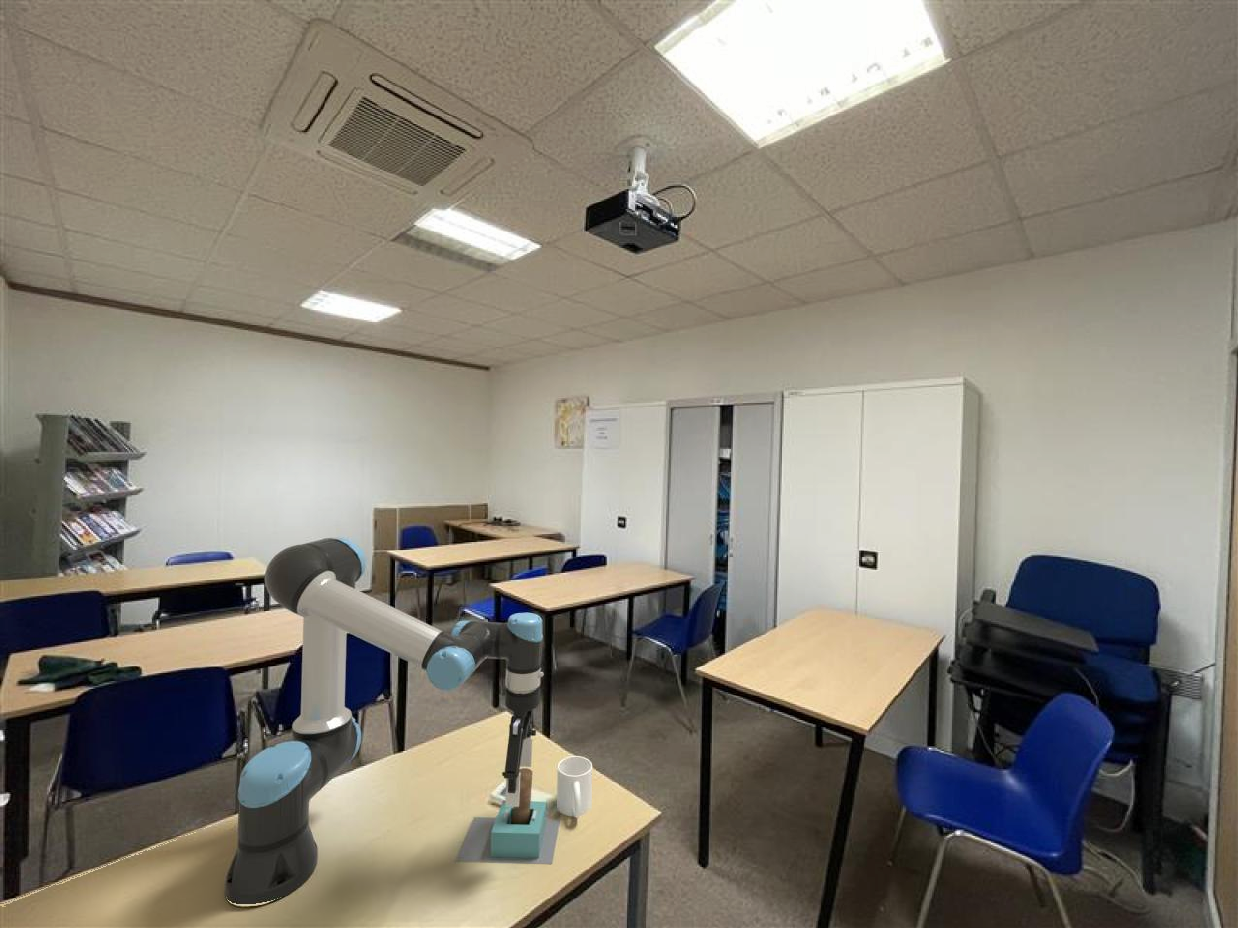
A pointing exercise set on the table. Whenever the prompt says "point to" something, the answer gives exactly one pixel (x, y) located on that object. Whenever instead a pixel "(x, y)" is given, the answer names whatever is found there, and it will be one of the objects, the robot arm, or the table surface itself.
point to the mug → (574, 786)
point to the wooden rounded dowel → (523, 798)
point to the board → (479, 844)
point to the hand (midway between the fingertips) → (519, 784)
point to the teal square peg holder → (518, 832)
